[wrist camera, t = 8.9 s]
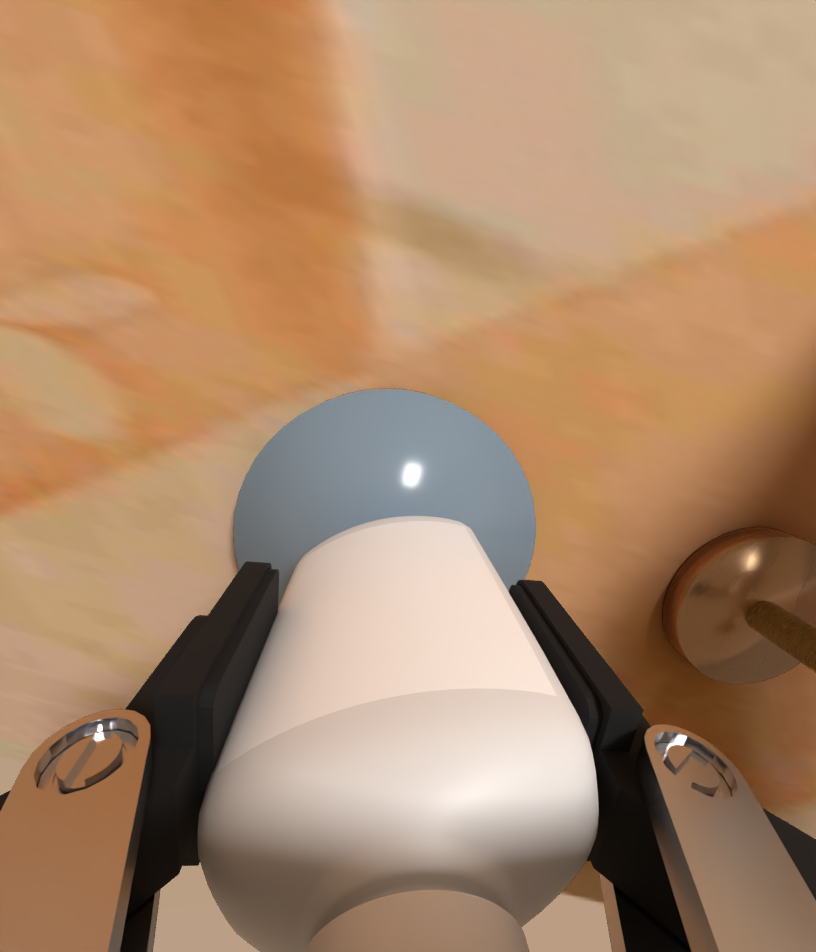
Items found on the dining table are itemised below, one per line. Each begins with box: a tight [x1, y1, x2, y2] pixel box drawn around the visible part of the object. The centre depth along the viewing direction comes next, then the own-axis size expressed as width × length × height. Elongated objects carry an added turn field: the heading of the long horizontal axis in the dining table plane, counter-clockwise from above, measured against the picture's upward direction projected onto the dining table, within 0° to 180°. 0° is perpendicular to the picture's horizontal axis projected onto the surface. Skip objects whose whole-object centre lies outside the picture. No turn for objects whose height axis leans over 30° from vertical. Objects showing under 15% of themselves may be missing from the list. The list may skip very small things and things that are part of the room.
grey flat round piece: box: [233, 388, 536, 608], centre depth 15 cm, size 11×11×1 cm
